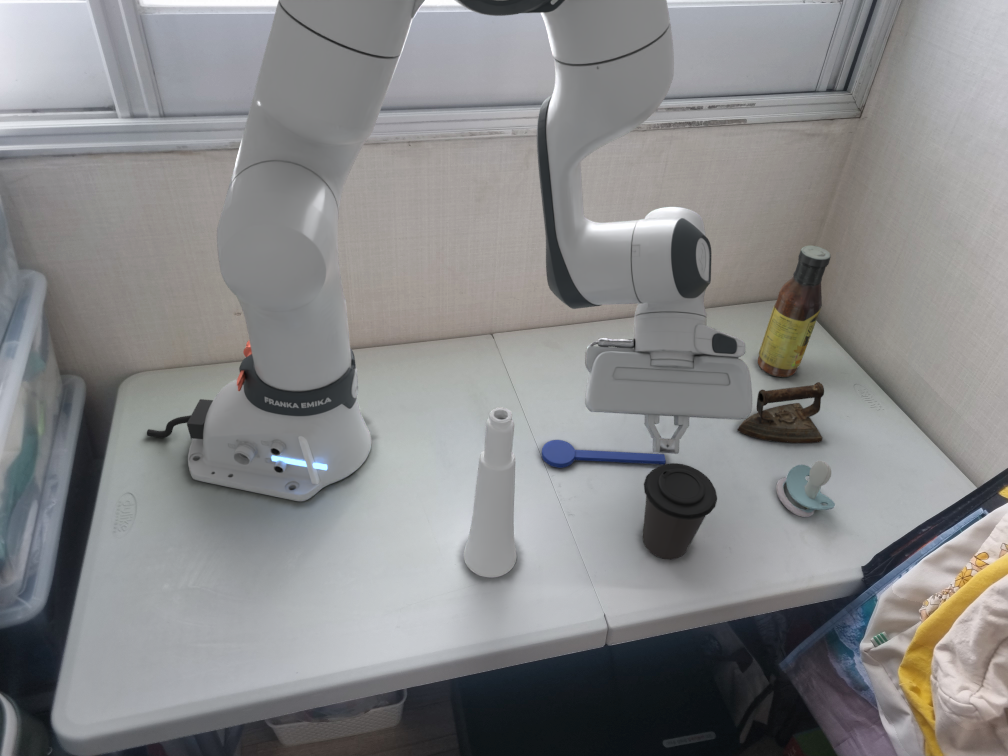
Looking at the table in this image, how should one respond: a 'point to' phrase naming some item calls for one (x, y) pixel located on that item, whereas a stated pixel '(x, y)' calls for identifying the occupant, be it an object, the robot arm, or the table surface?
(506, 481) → the cosmetic bottle
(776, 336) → the sauce bottle
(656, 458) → the spoon
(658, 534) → the coffee cup
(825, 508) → the pacifier
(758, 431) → the clothes iron
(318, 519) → the table surface
